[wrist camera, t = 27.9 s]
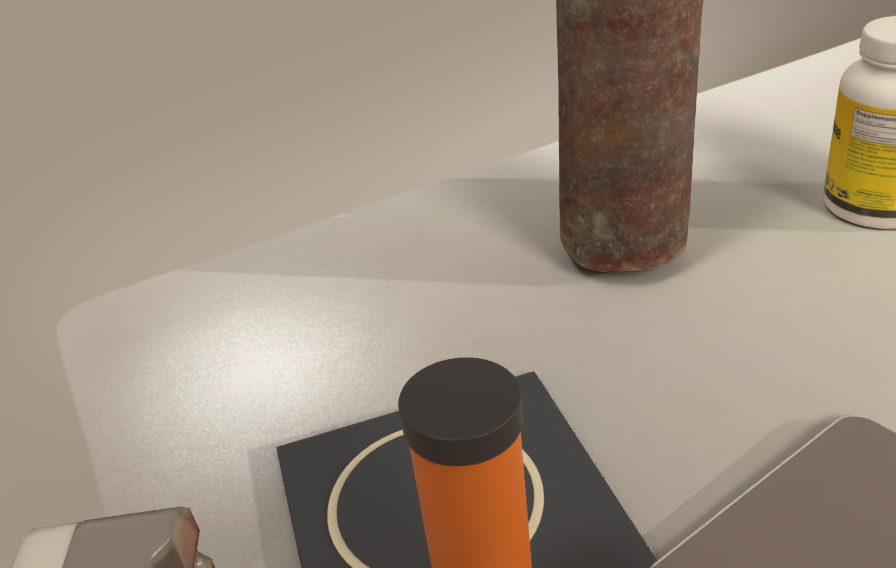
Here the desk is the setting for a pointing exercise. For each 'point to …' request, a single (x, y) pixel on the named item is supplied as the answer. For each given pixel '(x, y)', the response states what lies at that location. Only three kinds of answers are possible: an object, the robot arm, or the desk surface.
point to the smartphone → (809, 508)
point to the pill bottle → (866, 134)
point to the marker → (468, 463)
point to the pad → (398, 508)
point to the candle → (626, 129)
